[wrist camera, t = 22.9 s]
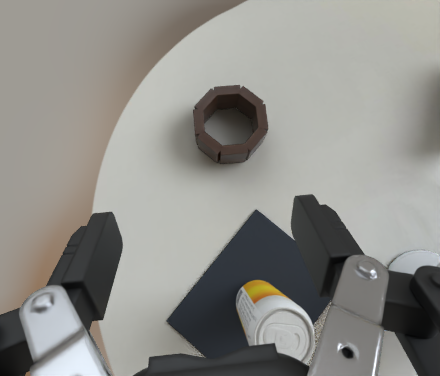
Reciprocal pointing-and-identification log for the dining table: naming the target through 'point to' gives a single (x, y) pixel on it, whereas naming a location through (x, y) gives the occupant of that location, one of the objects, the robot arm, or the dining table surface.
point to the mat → (236, 278)
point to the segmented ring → (226, 100)
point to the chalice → (414, 261)
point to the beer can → (275, 320)
